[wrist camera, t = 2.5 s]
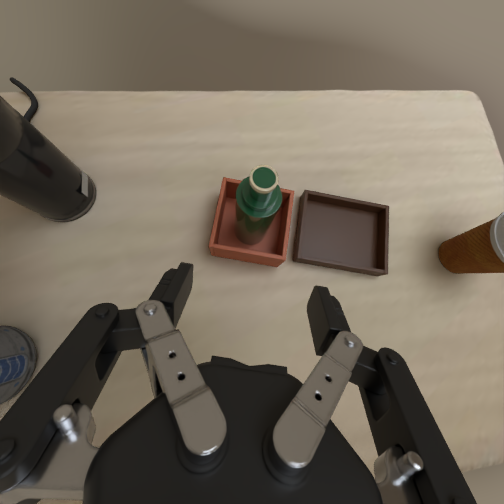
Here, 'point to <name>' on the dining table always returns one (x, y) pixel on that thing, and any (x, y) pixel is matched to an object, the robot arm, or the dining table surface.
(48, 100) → the dining table surface
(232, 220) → the bin
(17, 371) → the beverage bottle
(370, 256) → the tray
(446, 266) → the disposable coffee cup
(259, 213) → the bottle
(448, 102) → the dining table surface
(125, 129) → the dining table surface
